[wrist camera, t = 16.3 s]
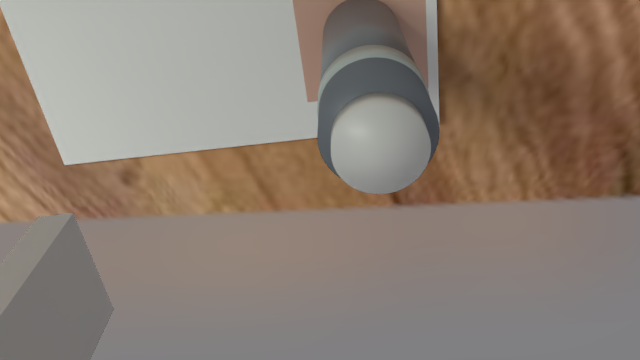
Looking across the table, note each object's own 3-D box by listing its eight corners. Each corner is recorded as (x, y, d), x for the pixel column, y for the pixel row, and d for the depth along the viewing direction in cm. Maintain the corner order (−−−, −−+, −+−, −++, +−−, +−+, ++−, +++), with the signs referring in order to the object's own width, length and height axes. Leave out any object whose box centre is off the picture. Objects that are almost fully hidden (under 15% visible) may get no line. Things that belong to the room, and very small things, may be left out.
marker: (326, 78, 27) (323, 212, 16) (317, 0, 25) (306, 97, 15) (402, 69, 27) (447, 200, 16) (398, -10, 25) (446, 81, 14)
